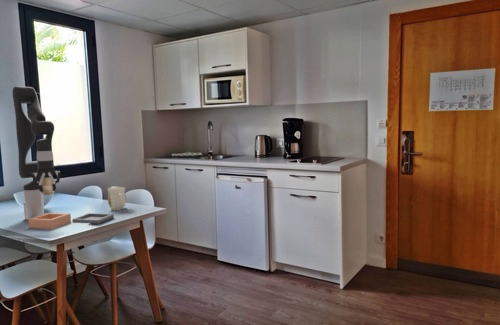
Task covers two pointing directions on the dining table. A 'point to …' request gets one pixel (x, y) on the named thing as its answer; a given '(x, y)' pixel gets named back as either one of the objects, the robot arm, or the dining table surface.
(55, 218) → the orange open box
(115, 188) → the pitcher
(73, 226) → the dining table surface
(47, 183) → the cylinder
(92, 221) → the tray
